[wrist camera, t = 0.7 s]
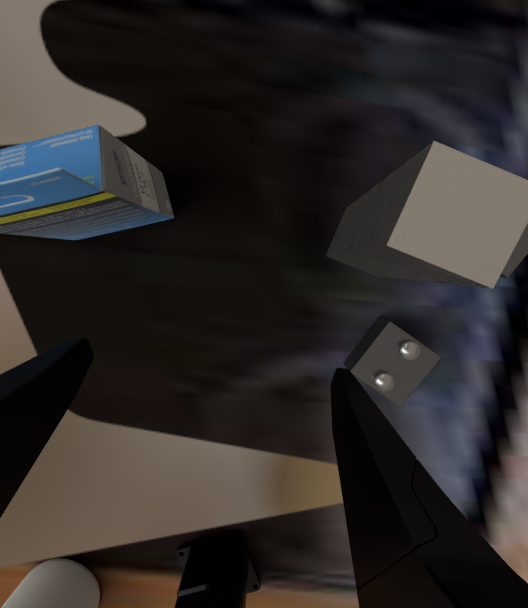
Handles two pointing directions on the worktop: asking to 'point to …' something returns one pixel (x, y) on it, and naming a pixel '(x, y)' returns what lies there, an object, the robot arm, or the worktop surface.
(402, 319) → the worktop surface
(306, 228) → the worktop surface
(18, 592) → the milk bottle
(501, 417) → the worktop surface
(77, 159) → the label tape box
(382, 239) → the pale grey rectangular block
